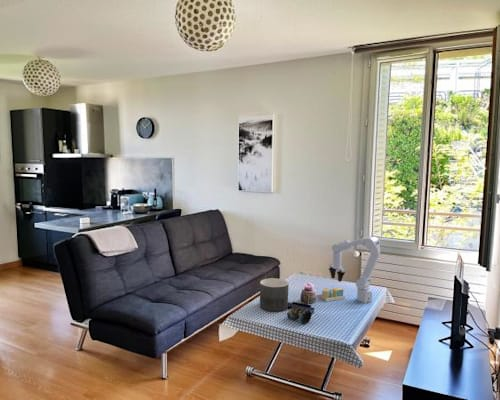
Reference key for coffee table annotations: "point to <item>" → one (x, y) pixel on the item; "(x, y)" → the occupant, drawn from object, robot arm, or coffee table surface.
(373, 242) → the robot arm
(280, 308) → the planter
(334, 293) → the carton faced
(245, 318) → the coffee table surface
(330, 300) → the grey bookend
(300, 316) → the figurine
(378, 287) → the coffee table surface
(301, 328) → the coffee table surface
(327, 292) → the carton
